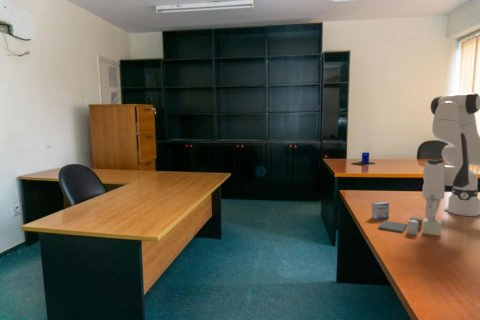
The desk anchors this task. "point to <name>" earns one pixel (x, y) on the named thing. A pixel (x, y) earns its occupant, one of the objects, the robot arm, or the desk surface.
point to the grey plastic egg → (412, 227)
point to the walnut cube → (418, 221)
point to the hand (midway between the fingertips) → (431, 222)
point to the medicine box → (380, 210)
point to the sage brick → (432, 227)
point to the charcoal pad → (392, 226)
